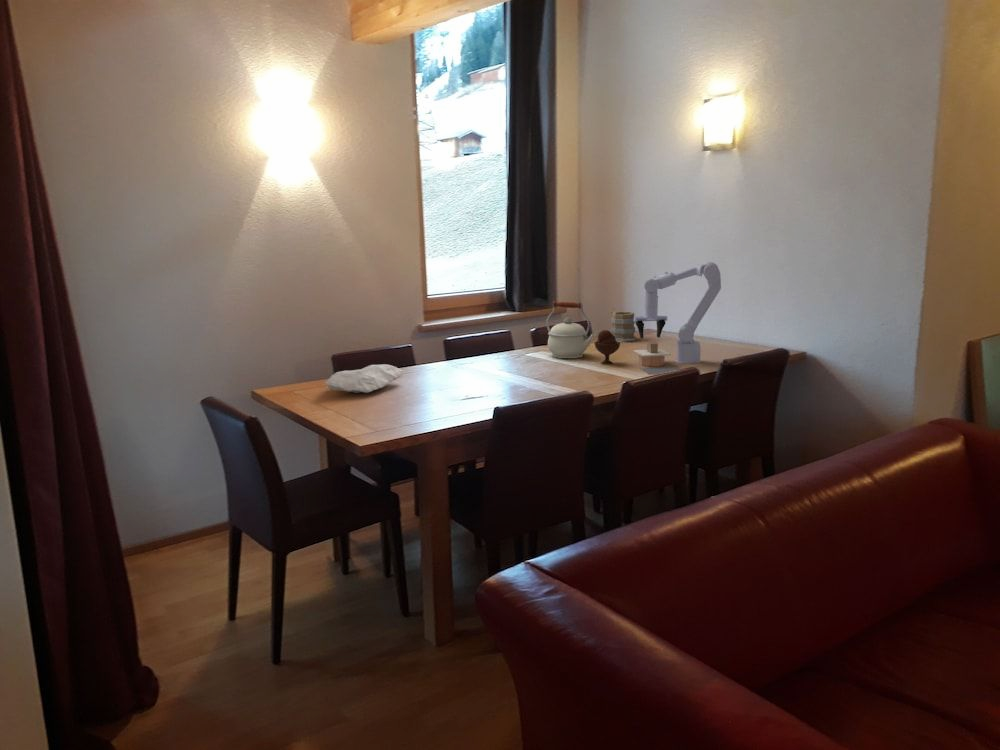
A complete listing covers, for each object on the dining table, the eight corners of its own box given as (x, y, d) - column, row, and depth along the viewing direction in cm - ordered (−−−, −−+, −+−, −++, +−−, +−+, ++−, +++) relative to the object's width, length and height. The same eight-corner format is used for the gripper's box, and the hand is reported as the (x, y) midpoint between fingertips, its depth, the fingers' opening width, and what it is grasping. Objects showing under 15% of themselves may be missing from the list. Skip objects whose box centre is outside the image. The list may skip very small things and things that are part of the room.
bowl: (658, 361, 330) (658, 350, 328) (666, 366, 320) (667, 354, 319) (636, 362, 328) (636, 351, 327) (644, 367, 318) (644, 355, 317)
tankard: (639, 341, 380) (640, 311, 377) (616, 343, 377) (617, 313, 374) (622, 335, 399) (623, 307, 396) (600, 337, 396) (600, 308, 393)
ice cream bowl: (619, 366, 321) (619, 331, 318) (593, 366, 323) (593, 331, 320) (620, 361, 331) (621, 328, 328) (595, 361, 333) (595, 327, 330)
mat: (676, 367, 317) (676, 366, 317) (687, 373, 306) (687, 372, 306) (639, 369, 315) (639, 368, 315) (649, 375, 304) (649, 374, 303)
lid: (660, 350, 329) (660, 339, 328) (670, 355, 318) (671, 344, 317) (634, 351, 328) (634, 341, 327) (643, 356, 316) (643, 345, 315)
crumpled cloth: (304, 390, 285) (305, 367, 282) (378, 373, 310) (378, 352, 307) (342, 409, 270) (343, 385, 267) (416, 390, 295) (417, 368, 292)
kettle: (537, 357, 345) (536, 302, 340) (556, 350, 360) (556, 298, 355) (585, 362, 332) (586, 305, 326) (604, 355, 347) (604, 301, 341)
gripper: (637, 308, 322) (636, 339, 325) (670, 307, 324) (669, 338, 327) (632, 306, 329) (631, 337, 332) (664, 305, 331) (663, 335, 334)
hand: (649, 337), depth 330 cm, fingers open, 7 cm apart
